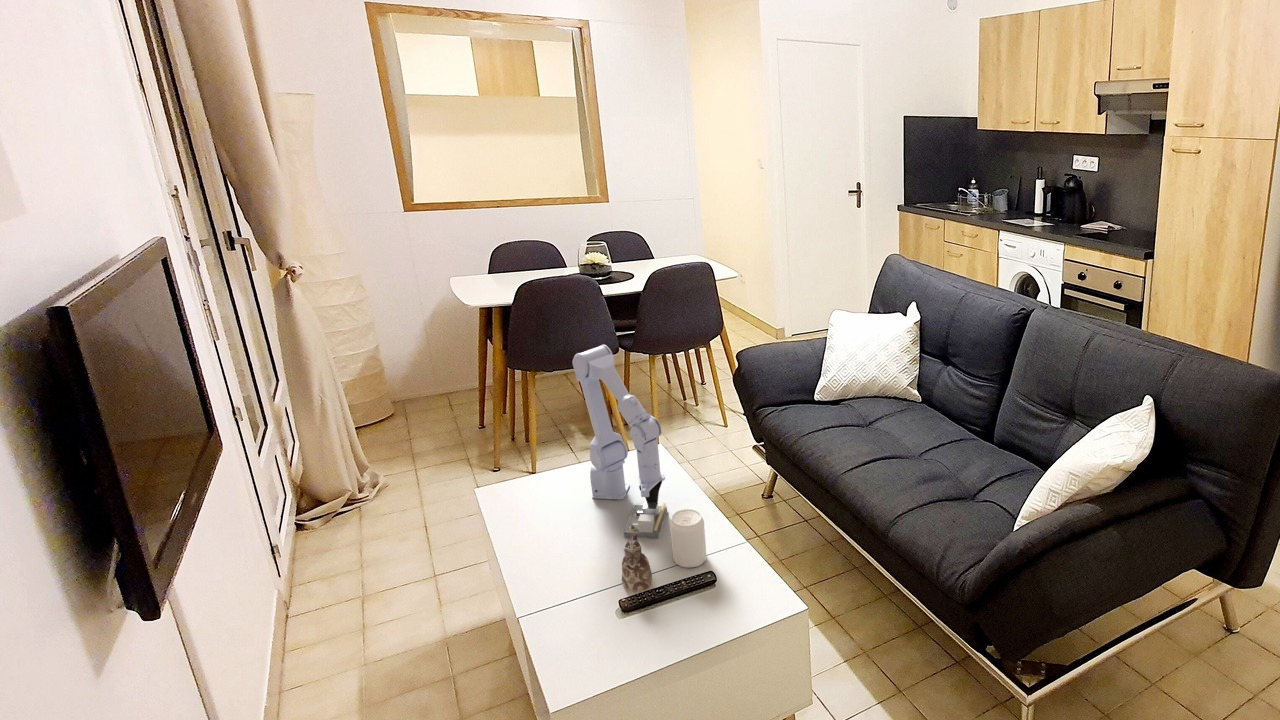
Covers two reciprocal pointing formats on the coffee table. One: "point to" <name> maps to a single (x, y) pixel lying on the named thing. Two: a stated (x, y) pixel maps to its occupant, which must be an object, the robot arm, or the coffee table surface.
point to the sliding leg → (650, 509)
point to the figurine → (635, 568)
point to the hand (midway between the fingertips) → (653, 506)
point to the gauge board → (635, 520)
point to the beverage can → (688, 538)
